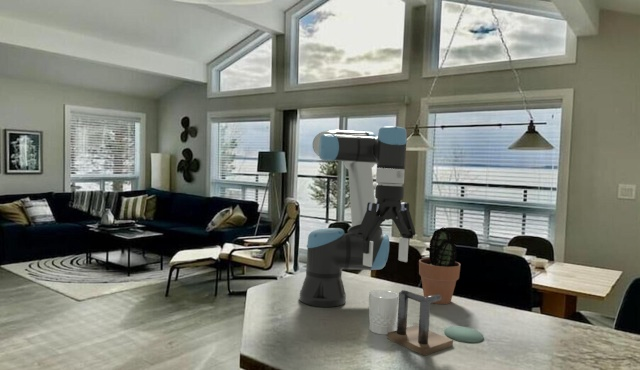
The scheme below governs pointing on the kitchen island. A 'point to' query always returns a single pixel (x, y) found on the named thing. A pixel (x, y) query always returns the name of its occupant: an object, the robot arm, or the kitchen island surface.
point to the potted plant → (440, 267)
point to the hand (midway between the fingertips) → (385, 263)
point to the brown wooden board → (411, 342)
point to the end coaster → (463, 334)
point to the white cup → (382, 311)
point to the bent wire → (422, 318)
